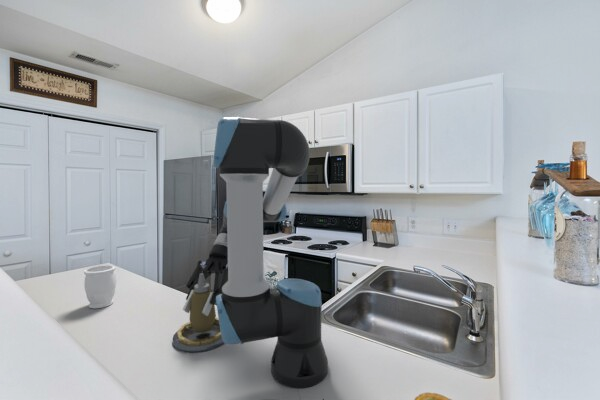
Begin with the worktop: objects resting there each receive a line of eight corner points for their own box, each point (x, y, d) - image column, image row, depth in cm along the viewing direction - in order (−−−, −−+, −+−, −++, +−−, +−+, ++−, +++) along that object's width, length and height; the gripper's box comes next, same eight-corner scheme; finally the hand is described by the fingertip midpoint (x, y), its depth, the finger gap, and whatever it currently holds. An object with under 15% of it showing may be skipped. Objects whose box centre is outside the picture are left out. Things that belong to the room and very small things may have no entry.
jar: (122, 299, 120) (121, 265, 119) (103, 310, 110) (101, 272, 109) (99, 298, 121) (98, 264, 120) (78, 309, 111) (76, 272, 110)
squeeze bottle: (188, 337, 87) (186, 279, 85) (191, 324, 94) (189, 271, 93) (215, 333, 89) (214, 276, 88) (216, 321, 96) (215, 269, 95)
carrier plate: (243, 331, 94) (243, 324, 94) (198, 359, 79) (197, 351, 79) (206, 317, 104) (206, 311, 104) (160, 341, 89) (160, 333, 89)
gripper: (250, 256, 102) (227, 321, 87) (205, 252, 108) (175, 313, 93) (243, 244, 97) (217, 312, 82) (195, 241, 102) (163, 304, 88)
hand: (195, 312), depth 88 cm, fingers closed on squeeze bottle, 6 cm apart
